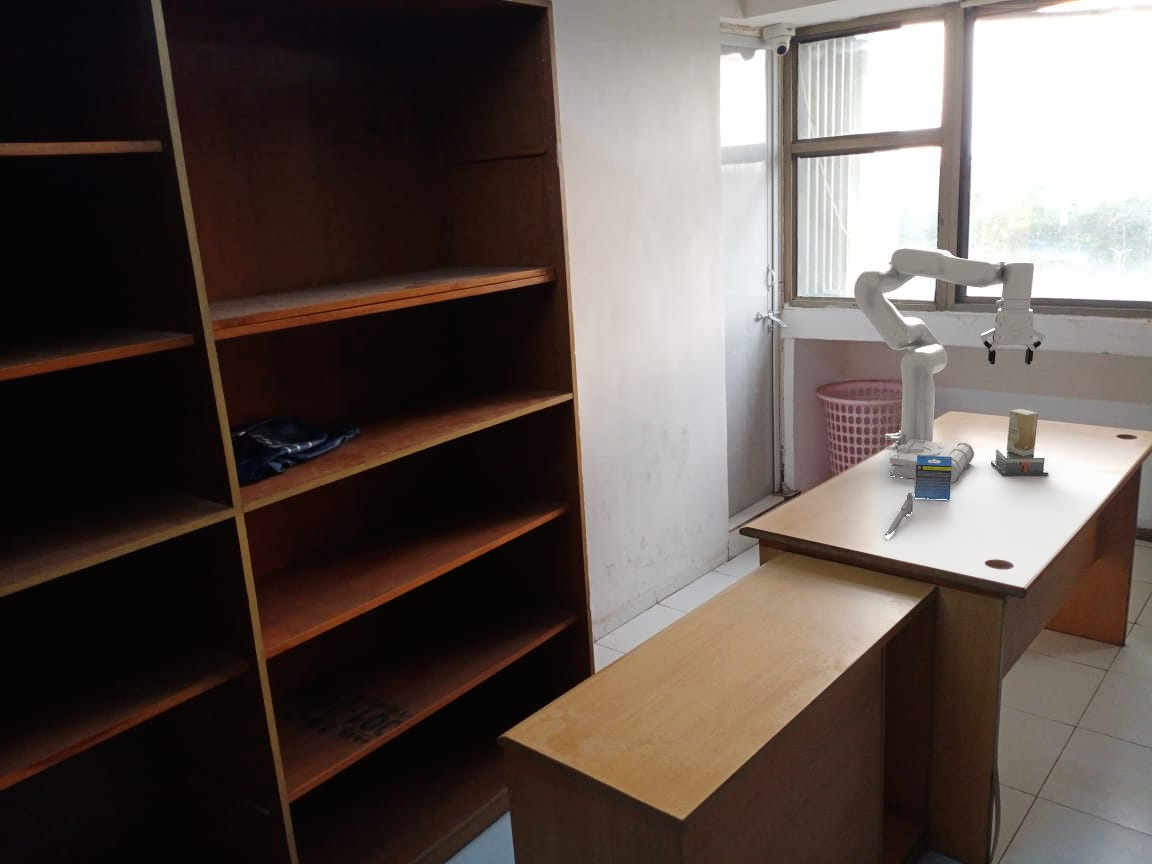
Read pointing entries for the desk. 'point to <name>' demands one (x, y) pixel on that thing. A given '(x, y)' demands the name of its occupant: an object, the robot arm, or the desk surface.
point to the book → (908, 455)
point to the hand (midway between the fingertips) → (1009, 363)
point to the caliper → (902, 513)
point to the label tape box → (933, 477)
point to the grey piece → (1019, 464)
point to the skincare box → (1022, 432)
